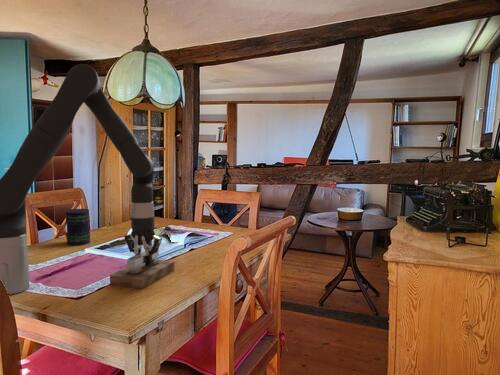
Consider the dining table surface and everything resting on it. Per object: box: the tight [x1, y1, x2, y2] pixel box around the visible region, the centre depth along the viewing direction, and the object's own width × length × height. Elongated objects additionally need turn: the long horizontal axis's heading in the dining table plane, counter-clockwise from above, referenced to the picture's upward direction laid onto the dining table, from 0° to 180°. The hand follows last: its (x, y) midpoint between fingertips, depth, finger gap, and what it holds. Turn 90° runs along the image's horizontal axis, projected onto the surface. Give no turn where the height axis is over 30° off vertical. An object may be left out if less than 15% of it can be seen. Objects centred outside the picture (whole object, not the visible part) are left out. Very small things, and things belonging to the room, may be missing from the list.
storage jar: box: [65, 208, 91, 247], centre depth 175 cm, size 10×10×15 cm
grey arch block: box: [126, 248, 160, 275], centre depth 132 cm, size 14×3×6 cm, turn 161°
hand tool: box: [164, 225, 173, 232], centre depth 186 cm, size 19×4×5 cm, turn 21°
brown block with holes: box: [109, 259, 175, 290], centre depth 133 cm, size 20×12×3 cm, turn 161°
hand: (143, 264), depth 132 cm, fingers closed on grey arch block, 3 cm apart
